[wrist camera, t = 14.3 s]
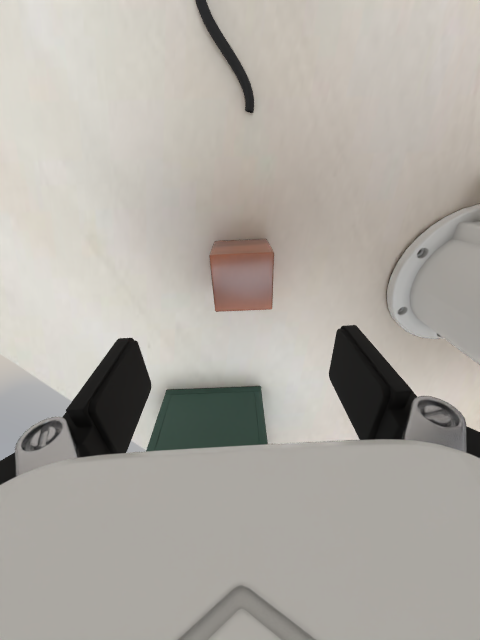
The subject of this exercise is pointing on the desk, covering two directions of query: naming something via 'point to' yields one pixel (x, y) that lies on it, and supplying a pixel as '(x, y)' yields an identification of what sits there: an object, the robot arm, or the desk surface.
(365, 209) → the desk surface
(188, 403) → the green storage box
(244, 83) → the game controller
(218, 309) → the block
